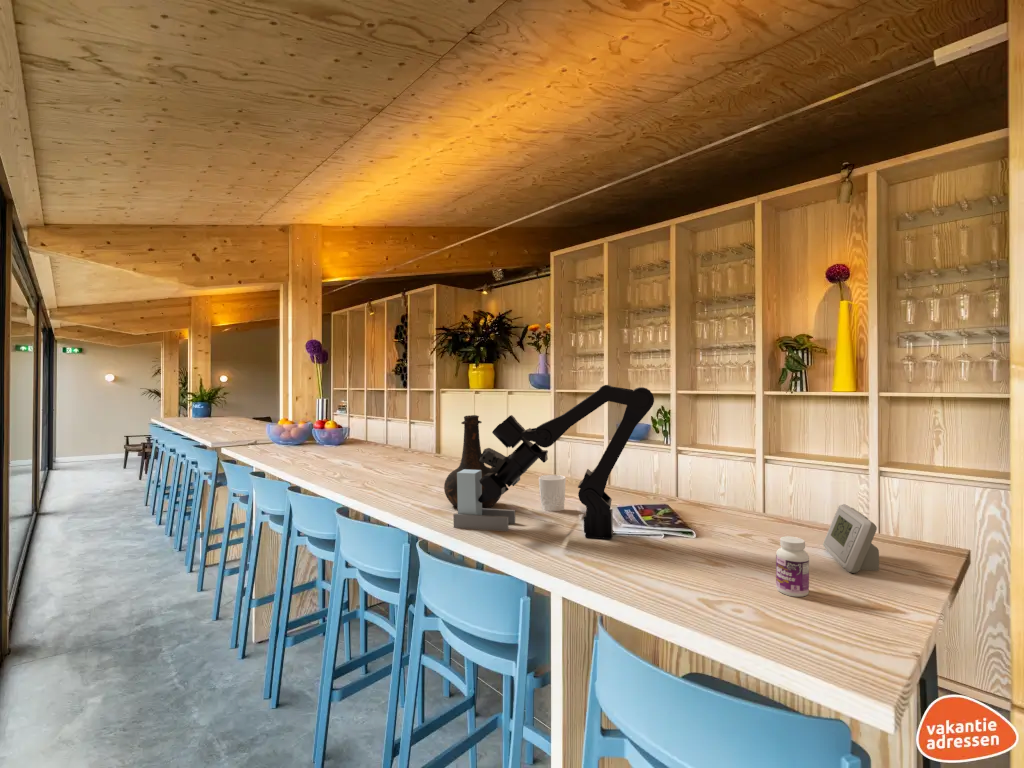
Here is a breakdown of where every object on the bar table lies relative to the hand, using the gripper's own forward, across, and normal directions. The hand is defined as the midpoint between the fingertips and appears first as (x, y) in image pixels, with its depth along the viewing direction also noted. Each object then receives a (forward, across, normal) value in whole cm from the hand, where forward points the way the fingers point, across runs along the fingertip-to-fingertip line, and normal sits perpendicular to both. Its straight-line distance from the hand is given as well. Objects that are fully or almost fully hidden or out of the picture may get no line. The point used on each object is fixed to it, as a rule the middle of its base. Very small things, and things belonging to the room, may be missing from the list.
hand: (479, 501), depth 141 cm
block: (+6, 0, +2) cm, 7 cm away
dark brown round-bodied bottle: (+12, -20, -1) cm, 23 cm away
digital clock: (-54, +6, +64) cm, 84 cm away
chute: (+4, 0, +6) cm, 7 cm away
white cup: (-6, -21, +16) cm, 27 cm away
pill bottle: (-44, +25, +54) cm, 74 cm away
